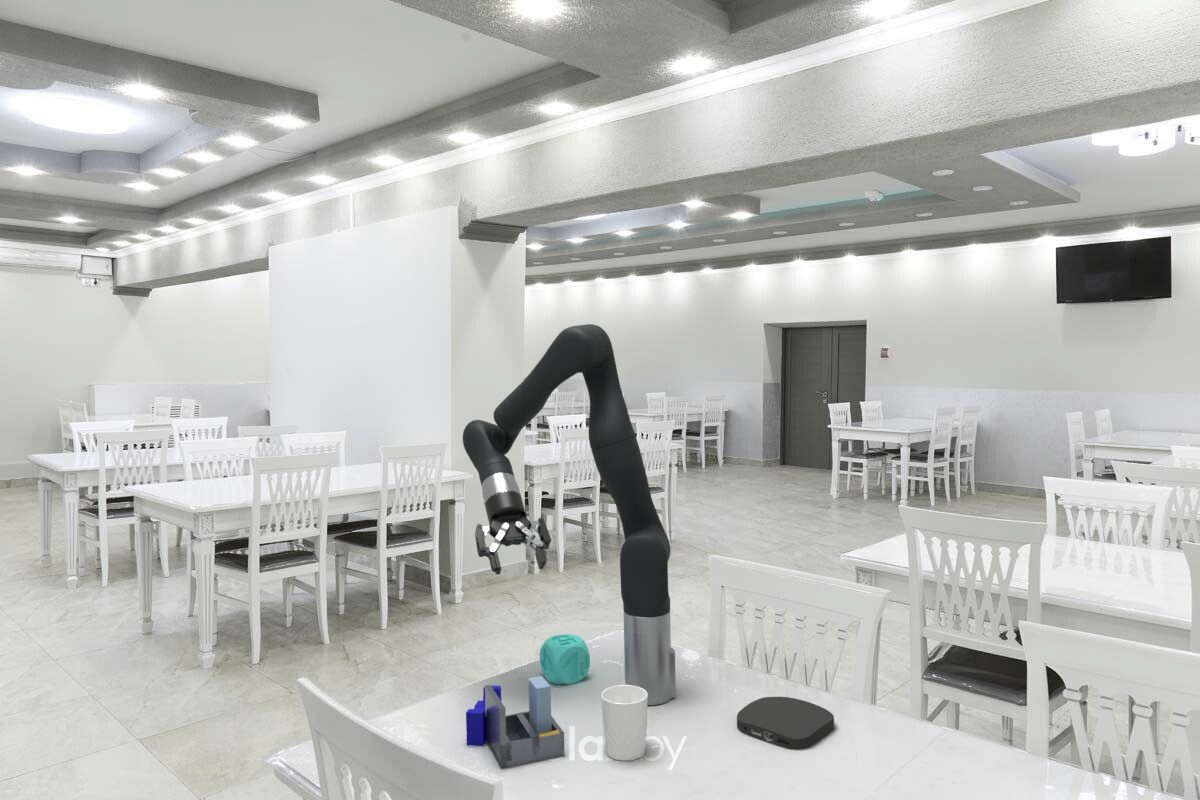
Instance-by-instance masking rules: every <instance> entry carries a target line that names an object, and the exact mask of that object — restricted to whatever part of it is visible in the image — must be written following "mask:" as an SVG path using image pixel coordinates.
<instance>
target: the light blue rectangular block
mask: <svg viewBox="0 0 1200 800" xmlns="http://www.w3.org/2000/svg"><path fill="white" fill-rule="evenodd" d="M551 687H552V686H551V685H550V684H549V683H548V680H547V679H546V678H545V677H543V675H540V676H535V677H528V705H529V706H528V711H529V722H530V725H531V726H532V728H533V729H534V731H535V732H536V734H537V735H538V736H539V734H540V733H545V732H550V731H552V726H551V716H552V697H551V696H552V693H551Z"/></svg>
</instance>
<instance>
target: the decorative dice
mask: <svg viewBox="0 0 1200 800" xmlns="http://www.w3.org/2000/svg"><path fill="white" fill-rule="evenodd" d="M590 657H591V656H590V651H589V648H588V645H587V643H586V642H585V640H584V639H583V638H582V637H581V636H579V635H575V634H569V633H568V634H565V633H564V634H557V635H556V634H555V635H553V636H550V637H547V639H546V640H545V641H544V642H543V644H542V645H541V648H540V650H539V666H540V669H541V672H542V676H544V677H543V678H544V679H545V680H546V681H547V682H549V683H551V682H552V683H551V684H553V683H556V684H555V685H559V684H568V685H573V684H577V683H579V682H580V681H582V680H583V679H584V678H585V677H586V675H587V674H588V672H589V670H590V666H591V658H590Z"/></svg>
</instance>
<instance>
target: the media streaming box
mask: <svg viewBox="0 0 1200 800" xmlns="http://www.w3.org/2000/svg"><path fill="white" fill-rule="evenodd" d="M736 728H737V730H738V731H739V732H741V733H742V734H744V735H746V736H748V737H752V738H754V739H756V740H757V739H758V740H760V741H763V742H766V743H769V744H771V745H775V746H777V747H780V748H784V749H788V750H795V751H798V750H800V751H801V750H806V749H809V748H812V747H814V746H815V745H816V744H818V743H819V742H820V741H822V740H823V739H825V738H826V737H827V736H828V735H829V734H831V733H832V732H833V731H834V730H835V715H833V713H832V712H830V711H829V710H828V709H826V708H824V707H822V706H821V705H818V704H814V703H812V702H809V701H807V700H802V699H799V698H794V697H789V696H766V697H765V696H764V697H760V698H758V699H755V700H753V701H752V702H749V703H748V704H747V705H745V706H744V707H743V708H741V709H740V710H739V711H738V713H737V714H736Z"/></svg>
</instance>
